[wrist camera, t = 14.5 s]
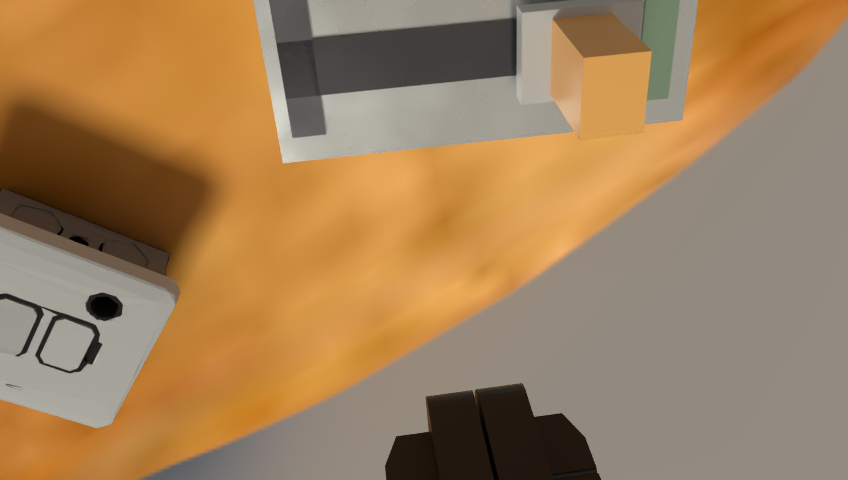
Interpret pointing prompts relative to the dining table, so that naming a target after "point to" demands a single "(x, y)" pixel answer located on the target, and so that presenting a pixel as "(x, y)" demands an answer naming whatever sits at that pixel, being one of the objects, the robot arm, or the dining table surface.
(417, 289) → the dining table surface
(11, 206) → the electrical switch
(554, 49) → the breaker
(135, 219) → the dining table surface
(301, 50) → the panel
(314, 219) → the dining table surface
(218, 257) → the dining table surface
